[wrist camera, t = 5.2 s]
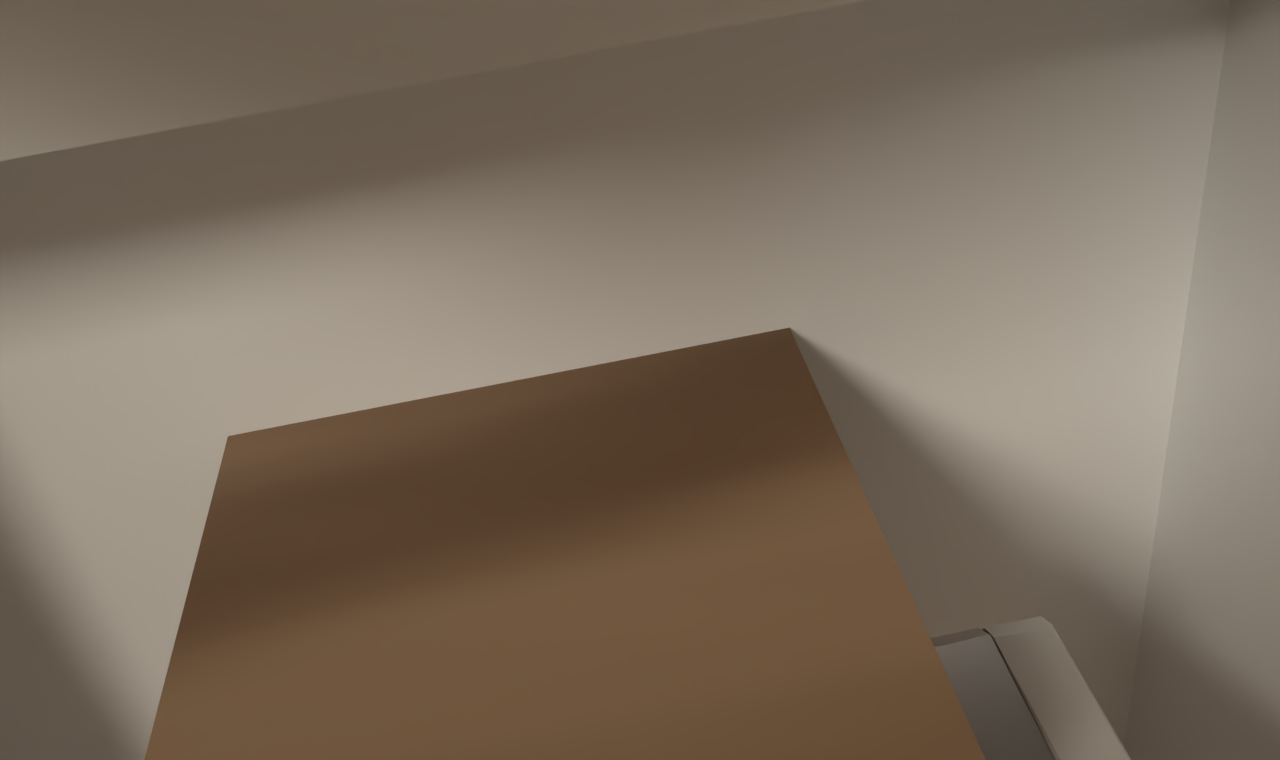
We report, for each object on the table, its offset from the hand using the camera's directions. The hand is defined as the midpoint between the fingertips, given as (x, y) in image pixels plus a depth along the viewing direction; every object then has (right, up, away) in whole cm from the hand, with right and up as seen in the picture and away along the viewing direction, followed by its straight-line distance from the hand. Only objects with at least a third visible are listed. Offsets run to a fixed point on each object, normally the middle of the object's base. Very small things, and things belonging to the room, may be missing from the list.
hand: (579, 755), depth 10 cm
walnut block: (0, +1, +2) cm, 2 cm away
